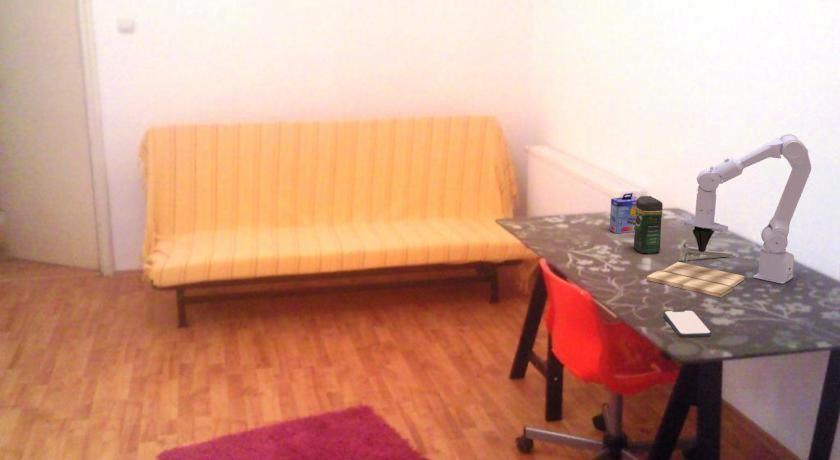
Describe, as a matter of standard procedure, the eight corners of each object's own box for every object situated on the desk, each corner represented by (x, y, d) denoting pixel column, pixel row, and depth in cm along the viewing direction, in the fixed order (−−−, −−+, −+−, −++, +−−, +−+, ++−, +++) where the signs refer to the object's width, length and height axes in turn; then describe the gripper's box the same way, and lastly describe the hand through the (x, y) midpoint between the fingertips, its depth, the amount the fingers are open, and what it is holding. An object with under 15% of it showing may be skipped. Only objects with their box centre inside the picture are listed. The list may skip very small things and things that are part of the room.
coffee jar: (663, 253, 300) (666, 200, 294) (640, 255, 299) (643, 201, 294) (652, 245, 309) (655, 193, 304) (630, 246, 308) (633, 194, 303)
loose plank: (744, 279, 273) (744, 275, 272) (729, 289, 266) (730, 285, 265) (677, 265, 287) (677, 261, 287) (662, 273, 280) (662, 270, 280)
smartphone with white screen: (713, 339, 232) (693, 315, 247) (713, 333, 231) (693, 309, 247) (679, 340, 232) (661, 316, 247) (679, 334, 231) (662, 310, 247)
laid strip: (732, 290, 265) (732, 286, 264) (720, 297, 259) (721, 293, 259) (659, 273, 280) (659, 269, 280) (646, 280, 275) (646, 276, 274)
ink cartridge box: (616, 234, 323) (617, 195, 319) (608, 230, 328) (610, 192, 324) (640, 231, 326) (642, 193, 322) (632, 227, 331) (634, 189, 327)
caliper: (680, 263, 291) (681, 244, 289) (678, 261, 292) (680, 243, 290) (736, 257, 295) (737, 239, 294) (734, 256, 296) (735, 238, 295)
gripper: (733, 210, 271) (729, 252, 275) (689, 202, 281) (686, 243, 285) (723, 214, 266) (720, 258, 270) (678, 207, 276) (675, 248, 280)
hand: (701, 251), depth 277 cm, fingers closed
